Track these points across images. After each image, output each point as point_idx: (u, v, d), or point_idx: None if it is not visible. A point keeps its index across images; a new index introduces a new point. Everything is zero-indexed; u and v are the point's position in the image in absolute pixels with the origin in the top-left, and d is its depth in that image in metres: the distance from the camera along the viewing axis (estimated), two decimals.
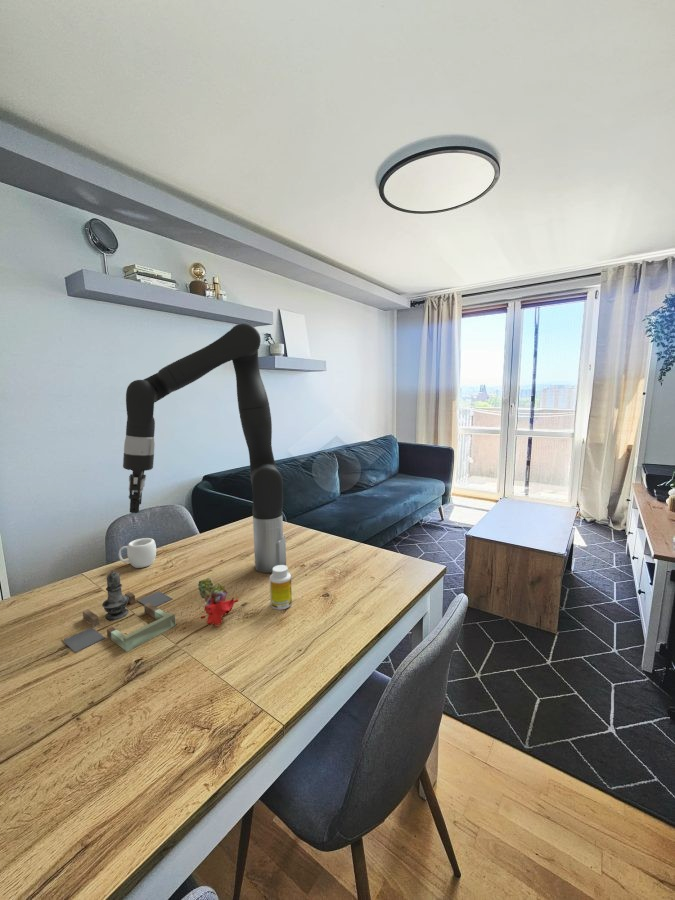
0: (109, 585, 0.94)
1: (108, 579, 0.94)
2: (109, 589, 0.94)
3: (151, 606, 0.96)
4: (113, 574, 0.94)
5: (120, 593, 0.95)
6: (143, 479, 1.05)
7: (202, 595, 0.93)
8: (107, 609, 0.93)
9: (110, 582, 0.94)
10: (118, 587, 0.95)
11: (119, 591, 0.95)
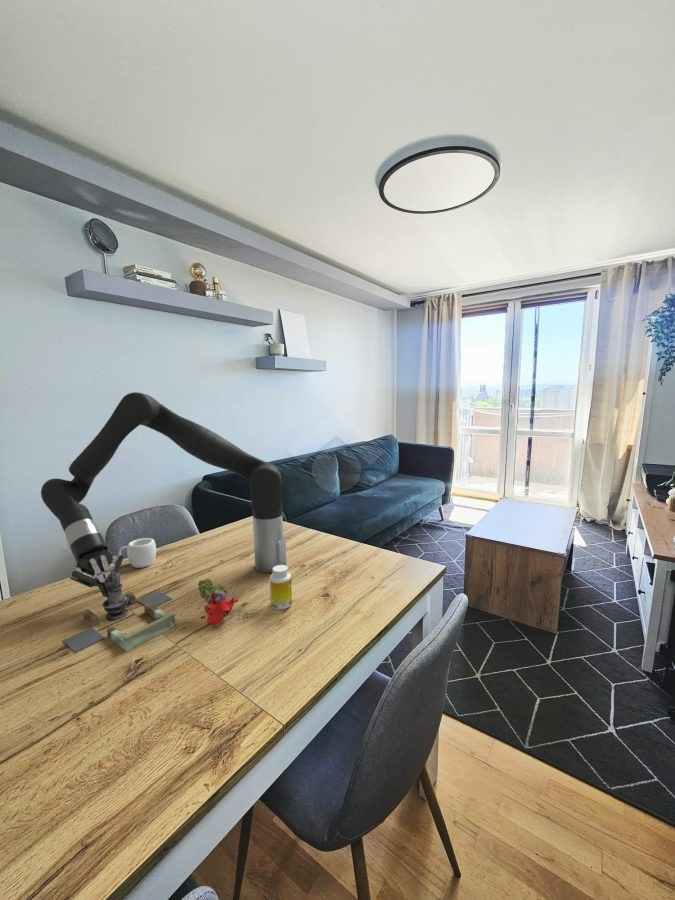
0: (109, 585, 0.94)
1: (108, 579, 0.93)
2: (109, 589, 0.94)
3: (151, 606, 0.96)
4: (113, 574, 0.94)
5: (120, 593, 0.95)
6: (90, 564, 0.98)
7: (202, 595, 0.93)
8: (107, 609, 0.93)
9: (110, 582, 0.93)
10: (118, 587, 0.95)
11: (120, 591, 0.95)
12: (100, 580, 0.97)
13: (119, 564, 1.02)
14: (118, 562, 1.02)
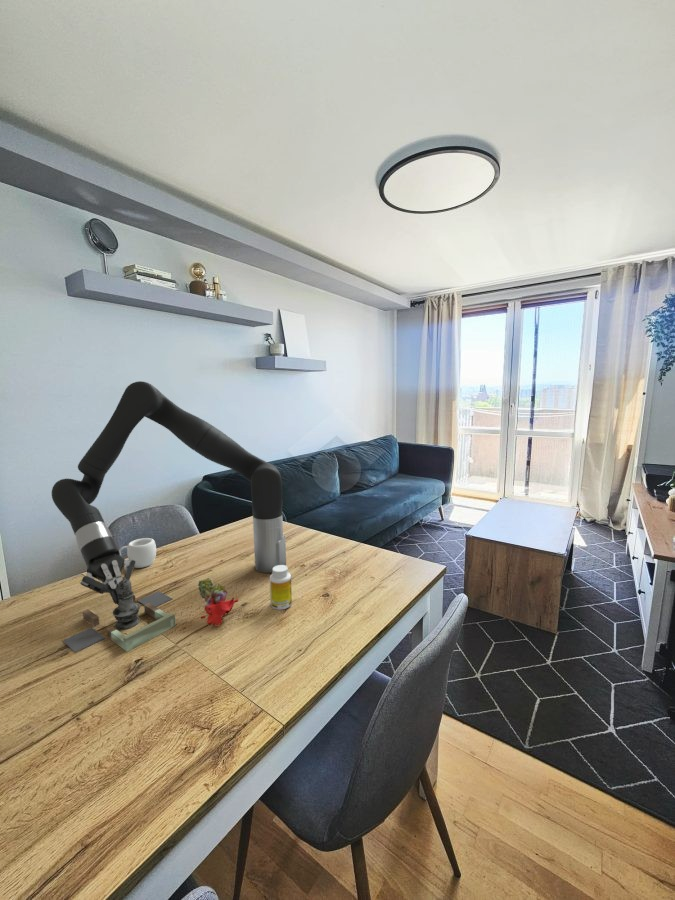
0: (120, 593, 0.90)
1: (119, 586, 0.90)
2: (120, 597, 0.90)
3: (151, 606, 0.96)
4: (125, 581, 0.90)
5: (131, 601, 0.92)
6: (101, 569, 0.94)
7: (202, 595, 0.93)
8: (118, 618, 0.89)
9: (121, 590, 0.90)
10: (129, 595, 0.91)
11: (131, 599, 0.91)
12: (111, 586, 0.93)
13: (131, 569, 0.98)
14: (130, 567, 0.98)
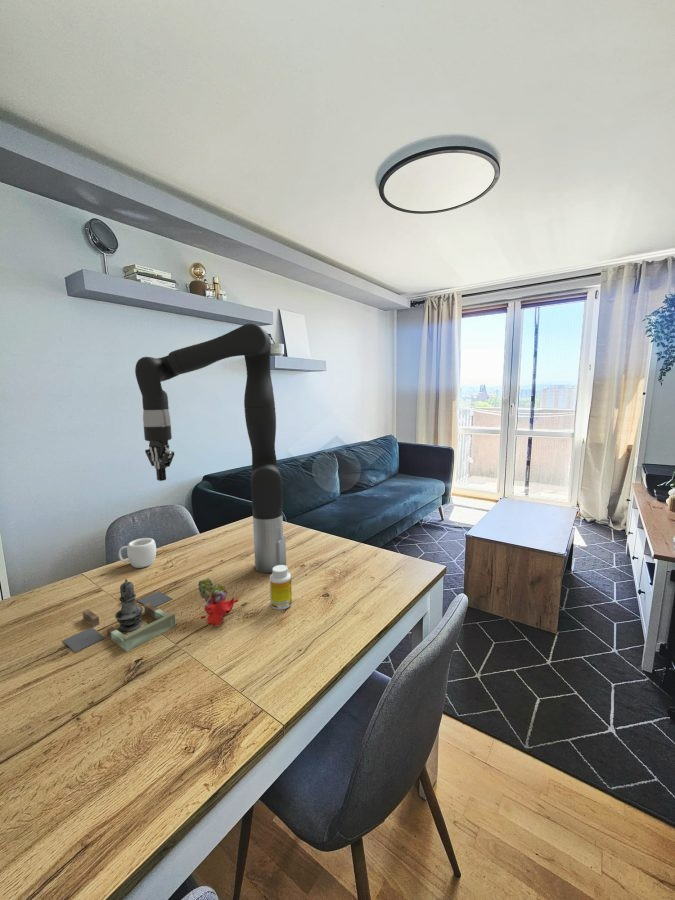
0: (123, 595, 0.89)
1: (122, 589, 0.89)
2: (123, 599, 0.89)
3: (151, 606, 0.96)
4: (127, 584, 0.89)
5: (134, 603, 0.91)
6: None
7: (202, 595, 0.93)
8: (121, 621, 0.88)
9: (124, 592, 0.89)
10: (132, 597, 0.90)
11: (133, 601, 0.90)
12: (154, 466, 1.17)
13: (164, 460, 1.13)
14: (163, 458, 1.13)
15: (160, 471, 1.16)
